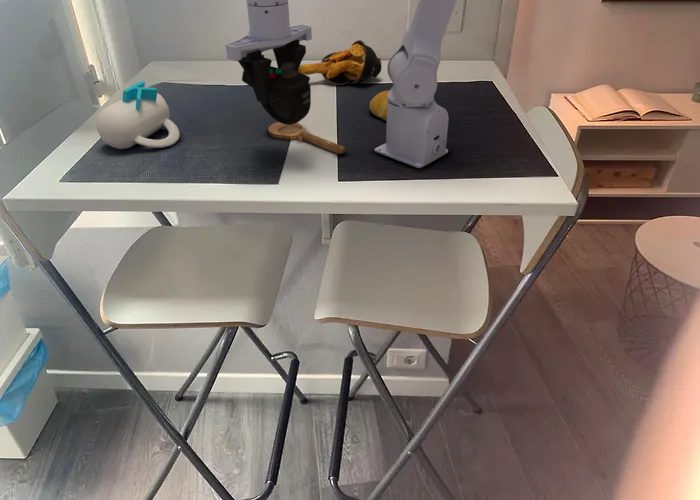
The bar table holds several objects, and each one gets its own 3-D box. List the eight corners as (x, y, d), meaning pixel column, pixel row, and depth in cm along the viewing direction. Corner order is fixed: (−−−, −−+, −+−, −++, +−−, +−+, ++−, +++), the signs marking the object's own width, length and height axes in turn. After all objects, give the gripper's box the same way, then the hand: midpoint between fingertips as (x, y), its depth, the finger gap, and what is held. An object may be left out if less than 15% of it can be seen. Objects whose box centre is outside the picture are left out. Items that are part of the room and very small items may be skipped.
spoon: (356, 149, 94) (356, 141, 94) (331, 161, 91) (331, 153, 90) (286, 122, 104) (286, 115, 103) (261, 132, 100) (260, 125, 100)
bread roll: (395, 127, 102) (396, 105, 99) (362, 113, 107) (362, 92, 105) (427, 115, 106) (429, 94, 104) (393, 102, 112) (394, 82, 109)
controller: (304, 136, 85) (291, 75, 78) (248, 116, 92) (231, 58, 85) (323, 122, 87) (311, 62, 81) (267, 103, 94) (252, 45, 87)
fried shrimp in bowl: (393, 64, 116) (314, 45, 108) (369, 105, 124) (294, 90, 115) (381, 36, 121) (304, 16, 112) (358, 77, 129) (285, 61, 120)
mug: (89, 94, 88) (138, 71, 97) (86, 141, 94) (132, 115, 103) (154, 132, 88) (197, 105, 97) (146, 176, 93) (187, 147, 103)
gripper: (287, -10, 85) (293, 79, 93) (207, 6, 77) (221, 103, 85) (320, -4, 82) (323, 89, 89) (239, 14, 73) (251, 115, 81)
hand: (275, 97), depth 87 cm, fingers closed on controller, 4 cm apart
